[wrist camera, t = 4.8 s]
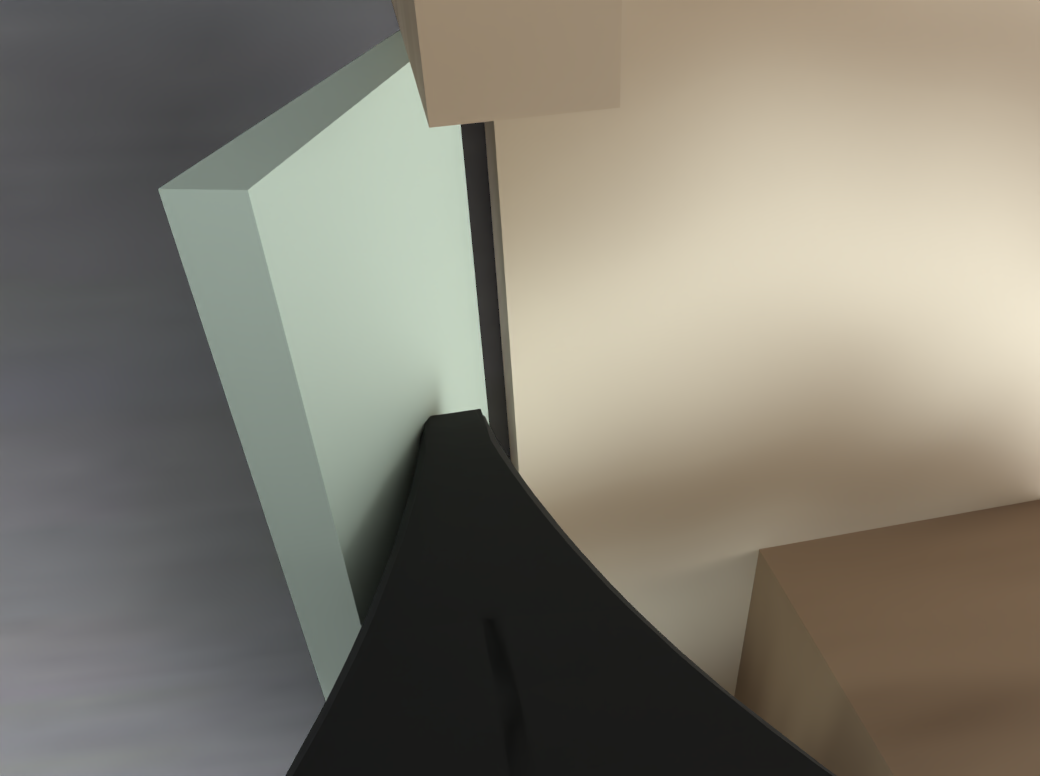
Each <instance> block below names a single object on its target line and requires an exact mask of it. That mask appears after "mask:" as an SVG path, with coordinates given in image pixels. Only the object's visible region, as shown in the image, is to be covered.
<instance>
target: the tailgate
mask: <svg viewBox="0 0 1040 776" xmlns="http://www.w3.org/2000/svg"><path fill="white" fill-rule="evenodd" d="M158 191H159V194H160V197H161V200H162V203H163V206H164V209H165V212H166V215H167V218H168V221H169V224H170V227H171V230H172V233H173V237H174V240H175V243H176V246H177V249H178V252H179V255H180V258H181V261H182V264H183V267H184V270H185V273H186V276H187V279H188V282H189V285H190V289H191V292H192V295H193V298H194V301H195V304H196V307H197V310H198V313H199V316H200V319H201V322H202V325H203V328H204V331H205V334H206V337H207V341H208V344H209V347H210V350H211V353H212V356H213V359H214V362H215V365H216V368H217V371H218V374H219V377H220V380H221V383H222V386H223V389H224V392H225V396H226V399H227V402H228V405H229V408H230V411H231V414H232V417H233V420H234V423H235V426H236V429H237V432H238V435H239V438H240V441H241V444H242V448H243V451H244V454H245V457H246V460H247V463H248V466H249V469H250V472H251V475H252V478H253V481H254V484H255V487H256V490H257V493H258V496H259V500H260V503H261V506H262V509H263V512H264V515H265V518H266V521H267V524H268V527H269V530H270V533H271V536H272V539H273V542H274V545H275V548H276V551H277V555H278V558H279V561H280V564H281V567H282V570H283V573H284V576H285V579H286V582H287V585H288V588H289V591H290V594H291V597H292V600H293V603H294V607H295V610H296V613H297V616H298V619H299V622H300V625H301V628H302V631H303V634H304V637H305V640H306V643H307V646H308V649H309V652H310V655H311V659H312V662H313V665H314V668H315V671H316V674H317V677H318V680H319V683H320V686H321V689H322V692H323V695H324V698H325V701H326V700H327V698H328V696H329V694H330V692H331V690H332V688H333V686H334V684H335V682H336V680H337V678H338V676H339V674H340V672H341V670H342V668H343V666H344V664H345V662H346V660H347V658H348V655H349V653H350V651H351V649H352V647H353V645H354V642H355V640H356V638H357V636H358V633H359V631H360V629H361V627H362V624H363V622H364V620H365V617H366V615H367V612H368V610H369V607H370V605H371V602H372V600H373V597H374V595H375V592H376V590H377V587H378V585H379V582H380V580H381V577H382V574H383V572H384V569H385V567H386V564H387V562H388V559H389V556H390V554H391V551H392V548H393V545H394V542H395V539H396V535H397V532H398V529H399V526H400V522H401V519H402V516H403V513H404V510H405V506H406V503H407V500H408V496H409V492H410V488H411V484H412V480H413V476H414V472H415V467H416V462H417V457H418V451H419V443H420V436H421V434H422V432H423V430H424V423H425V422H426V421H427V419H428V418H429V417H430V416H434V415H440V414H447V413H454V412H461V411H468V410H475V409H481V411H482V414H483V415H484V416H485V417H486V419H487V422H488V424H489V417H488V407H487V396H486V386H485V375H484V365H483V354H482V344H481V333H480V323H479V312H478V302H477V291H476V281H475V270H474V260H473V249H472V239H471V228H470V218H469V207H468V197H467V186H466V176H465V166H464V155H463V145H462V134H461V124H460V125H451V126H441V127H432V128H429V125H428V122H427V119H426V115H425V112H424V108H423V105H422V102H421V98H420V95H419V92H418V88H417V85H416V81H415V78H414V75H413V71H412V68H411V65H410V61H409V58H408V54H407V51H406V48H405V44H404V41H403V38H402V34H401V31H400V30H399V31H398V32H396V33H395V34H393V35H392V36H390V37H389V38H387V39H386V40H384V41H382V42H381V43H379V44H378V45H376V46H375V47H373V48H372V49H370V50H369V51H367V52H366V53H364V54H363V55H361V56H360V57H358V58H357V59H355V60H354V61H352V62H351V63H349V64H347V65H346V66H344V67H343V68H341V69H340V70H338V71H337V72H335V73H334V74H332V75H331V76H329V77H328V78H326V79H325V80H323V81H322V82H320V83H319V84H317V85H315V86H314V87H312V88H311V89H309V90H308V91H306V92H305V93H303V94H302V95H300V96H299V97H297V98H296V99H294V100H293V101H291V102H290V103H288V104H287V105H285V106H284V107H282V108H280V109H279V110H277V111H276V112H274V113H273V114H271V115H270V116H268V117H267V118H265V119H264V120H262V121H261V122H259V123H258V124H256V125H255V126H253V127H252V128H250V129H248V130H247V131H245V132H244V133H242V134H241V135H239V136H238V137H236V138H235V139H233V140H232V141H230V142H229V143H227V144H226V145H224V146H223V147H221V148H220V149H218V150H217V151H215V152H213V153H212V154H210V155H209V156H207V157H206V158H204V159H203V160H201V161H200V162H198V163H197V164H195V165H194V166H192V167H191V168H189V169H188V170H186V171H185V172H183V173H182V174H180V175H178V176H177V177H175V178H174V179H172V180H171V181H169V182H168V183H166V184H165V185H163V186H162V187H160V188H159V189H158Z"/></svg>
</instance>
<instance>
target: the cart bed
mask: <svg viewBox="0 0 1040 776" xmlns="http://www.w3.org/2000/svg"><path fill="white" fill-rule="evenodd" d="M392 4H393V7H394V11H395V14H396V17H397V21H398V24H399V27H400V31H401V34H402V38H403V41H404V44H405V48H406V51H407V54H408V58H409V61H410V65H411V68H412V71H413V75H414V78H415V81H416V85H417V88H418V92H419V95H420V98H421V102H422V105H423V108H424V112H425V115H426V119H427V122H428V125H429V128H432V127H441V126H451V125H460V124H470V123H479V122H484V124H485V137H486V149H487V162H488V175H489V188H490V200H491V213H492V226H493V239H494V252H495V264H496V277H497V290H498V303H499V315H500V328H501V341H502V354H503V367H504V379H505V392H506V405H507V418H508V430H509V443H510V456H511V462H512V464H513V465H514V467H515V468H516V470H517V471H518V472H519V474H520V475H521V477H522V478H523V480H524V481H525V482H526V484H527V485H528V486H529V488H530V489H531V490H532V492H533V493H534V494H535V496H536V497H537V498H538V500H539V501H540V502H541V503H542V505H543V506H544V507H545V508H546V510H547V511H548V512H549V513H550V514H551V516H552V517H553V518H554V519H555V521H556V522H557V523H558V524H559V526H560V527H561V528H562V529H563V531H564V532H565V533H566V534H567V535H568V537H569V538H570V539H571V540H572V541H573V542H574V544H575V545H576V546H577V547H578V548H579V549H580V550H581V552H582V553H583V554H584V555H585V556H586V557H587V558H588V559H589V560H590V562H591V563H592V564H593V565H594V566H595V567H596V568H597V569H598V570H599V571H600V572H601V573H602V575H603V576H604V577H605V578H606V579H607V580H608V581H609V582H610V583H611V584H612V585H613V586H614V587H615V588H616V589H617V590H618V591H619V592H620V593H621V595H622V596H623V597H624V598H625V599H626V600H627V601H628V602H629V603H630V604H631V605H632V606H633V607H634V608H635V609H636V610H637V611H638V612H639V613H640V614H641V615H643V616H644V617H645V618H646V619H647V620H648V621H649V622H650V623H651V624H652V625H653V626H654V627H655V628H656V629H657V630H658V631H660V632H661V633H662V634H663V635H664V636H665V637H666V638H667V639H668V640H669V641H670V642H671V643H672V644H674V645H675V646H676V647H677V648H678V649H679V650H680V651H681V652H682V653H684V654H685V655H686V656H687V657H688V658H689V659H690V660H692V661H693V662H694V663H695V664H696V665H697V666H699V667H700V668H701V669H702V670H703V671H704V672H705V673H707V674H708V675H709V676H710V677H711V678H712V679H713V680H715V681H716V682H717V683H718V684H719V685H720V686H722V687H723V688H724V689H725V690H726V691H728V692H729V693H730V694H731V695H732V696H734V695H735V689H736V683H737V677H738V671H739V665H740V659H741V653H742V647H743V642H744V636H745V630H746V624H747V618H748V612H749V606H750V600H751V594H752V589H753V583H754V577H755V571H756V565H757V559H758V553H759V549H763V548H769V547H775V546H780V545H786V544H792V543H797V542H803V541H808V540H814V539H820V538H825V537H831V536H837V535H842V534H848V533H854V532H859V531H865V530H870V529H876V528H882V527H887V526H893V525H899V524H904V523H910V522H916V521H921V520H927V519H932V518H938V517H944V516H949V515H955V514H961V513H966V512H972V511H977V510H983V509H989V508H994V507H1000V506H1006V505H1011V504H1017V503H1023V502H1028V501H1034V500H1039V499H1040V0H392Z"/></svg>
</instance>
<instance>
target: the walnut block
mask: <svg viewBox="0 0 1040 776" xmlns="http://www.w3.org/2000/svg"><path fill="white" fill-rule="evenodd" d="M734 697H735V698H736V699H738V700H739V701H740V702H742V703H743V704H744V705H745V706H747V707H748V708H749V709H751V710H752V711H753V712H754V713H756V714H757V715H758V716H760V717H761V718H762V719H763V720H765V721H766V722H767V723H769V724H770V725H771V726H773V727H774V728H775V729H776V730H778V731H779V732H780V733H782V734H783V735H784V736H785V737H787V738H788V739H789V740H791V741H792V742H793V743H794V744H796V745H797V746H798V747H800V748H801V749H802V750H804V751H805V752H806V753H807V754H809V755H810V756H811V757H813V758H814V759H815V760H816V761H818V762H819V763H820V764H822V765H823V766H824V767H825V768H827V769H828V770H830V771H831V772H832V773H834V774H835V775H837V776H1040V499H1039V500H1034V501H1028V502H1023V503H1017V504H1011V505H1006V506H1000V507H994V508H989V509H983V510H977V511H972V512H966V513H961V514H955V515H949V516H944V517H938V518H932V519H927V520H921V521H916V522H910V523H904V524H899V525H893V526H887V527H882V528H876V529H870V530H865V531H859V532H854V533H848V534H842V535H837V536H831V537H825V538H820V539H814V540H808V541H803V542H797V543H792V544H786V545H780V546H775V547H769V548H763V549H759V553H758V559H757V565H756V571H755V577H754V583H753V589H752V594H751V600H750V606H749V612H748V618H747V624H746V630H745V636H744V642H743V647H742V653H741V659H740V665H739V671H738V677H737V683H736V689H735V695H734Z"/></svg>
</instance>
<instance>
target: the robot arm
mask: <svg viewBox="0 0 1040 776" xmlns="http://www.w3.org/2000/svg"><path fill="white" fill-rule="evenodd" d="M286 776H837V775H835V774H834V773H832V772H831V771H830V770H828V769H827V768H825V767H824V766H823V765H822V764H820V763H819V762H818V761H816V760H815V759H814V758H813V757H811V756H810V755H809V754H807V753H806V752H805V751H804V750H802V749H801V748H800V747H798V746H797V745H796V744H794V743H793V742H792V741H791V740H789V739H788V738H787V737H785V736H784V735H783V734H782V733H780V732H779V731H778V730H776V729H775V728H774V727H773V726H771V725H770V724H769V723H767V722H766V721H765V720H763V719H762V718H761V717H760V716H758V715H757V714H756V713H754V712H753V711H752V710H751V709H749V708H748V707H747V706H745V705H744V704H743V703H742V702H740V701H739V700H738V699H736V698H735V697H734V696H732V695H731V694H730V693H729V692H728V691H726V690H725V689H724V688H723V687H722V686H720V685H719V684H718V683H717V682H716V681H715V680H713V679H712V678H711V677H710V676H709V675H708V674H707V673H705V672H704V671H703V670H702V669H701V668H700V667H699V666H697V665H696V664H695V663H694V662H693V661H692V660H690V659H689V658H688V657H687V656H686V655H685V654H684V653H682V652H681V651H680V650H679V649H678V648H677V647H676V646H675V645H674V644H672V643H671V642H670V641H669V640H668V639H667V638H666V637H665V636H664V635H663V634H662V633H661V632H660V631H658V630H657V629H656V628H655V627H654V626H653V625H652V624H651V623H650V622H649V621H648V620H647V619H646V618H645V617H644V616H643V615H641V614H640V613H639V612H638V611H637V610H636V609H635V608H634V607H633V606H632V605H631V604H630V603H629V602H628V601H627V600H626V599H625V598H624V597H623V596H622V595H621V593H620V592H619V591H618V590H617V589H616V588H615V587H614V586H613V585H612V584H611V583H610V582H609V581H608V580H607V579H606V578H605V577H604V576H603V575H602V573H601V572H600V571H599V570H598V569H597V568H596V567H595V566H594V565H593V564H592V563H591V562H590V560H589V559H588V558H587V557H586V556H585V555H584V554H583V553H582V552H581V550H580V549H579V548H578V547H577V546H576V545H575V544H574V542H573V541H572V540H571V539H570V538H569V537H568V535H567V534H566V533H565V532H564V531H563V529H562V528H561V527H560V526H559V524H558V523H557V522H556V521H555V519H554V518H553V517H552V516H551V514H550V513H549V512H548V511H547V510H546V508H545V507H544V506H543V505H542V503H541V502H540V501H539V500H538V498H537V497H536V496H535V494H534V493H533V492H532V490H531V489H530V488H529V486H528V485H527V484H526V482H525V481H524V480H523V478H522V477H521V475H520V474H519V472H518V471H517V470H516V468H515V467H514V465H513V464H512V462H511V461H510V459H509V458H508V456H507V455H506V453H505V452H504V450H503V449H502V447H501V445H500V444H499V442H498V440H497V439H496V437H495V435H494V433H493V431H492V430H491V428H490V426H489V424H488V422H487V419H486V417H485V416H484V415H483V414H482V411H481V409H475V410H468V411H461V412H454V413H447V414H440V415H434V416H430V417H429V418H428V419H427V421H426V422H425V423H424V430H423V432H422V434H421V436H420V443H419V451H418V457H417V462H416V467H415V472H414V476H413V480H412V484H411V488H410V492H409V496H408V500H407V503H406V506H405V510H404V513H403V516H402V519H401V522H400V526H399V529H398V532H397V535H396V539H395V542H394V545H393V548H392V551H391V554H390V556H389V559H388V562H387V564H386V567H385V569H384V572H383V574H382V577H381V580H380V582H379V585H378V587H377V590H376V592H375V595H374V597H373V600H372V602H371V605H370V607H369V610H368V612H367V615H366V617H365V620H364V622H363V624H362V627H361V629H360V631H359V633H358V636H357V638H356V640H355V642H354V645H353V647H352V649H351V651H350V653H349V655H348V658H347V660H346V662H345V664H344V666H343V668H342V670H341V672H340V674H339V676H338V678H337V680H336V682H335V684H334V686H333V688H332V690H331V692H330V694H329V696H328V698H327V700H326V702H325V704H324V706H323V708H322V710H321V712H320V714H319V716H318V718H317V720H316V721H315V723H314V725H313V727H312V729H311V730H310V732H309V734H308V736H307V738H306V739H305V741H304V743H303V745H302V747H301V748H300V750H299V752H298V754H297V756H296V758H295V759H294V761H293V763H292V765H291V767H290V768H289V770H288V772H287V774H286Z"/></svg>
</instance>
